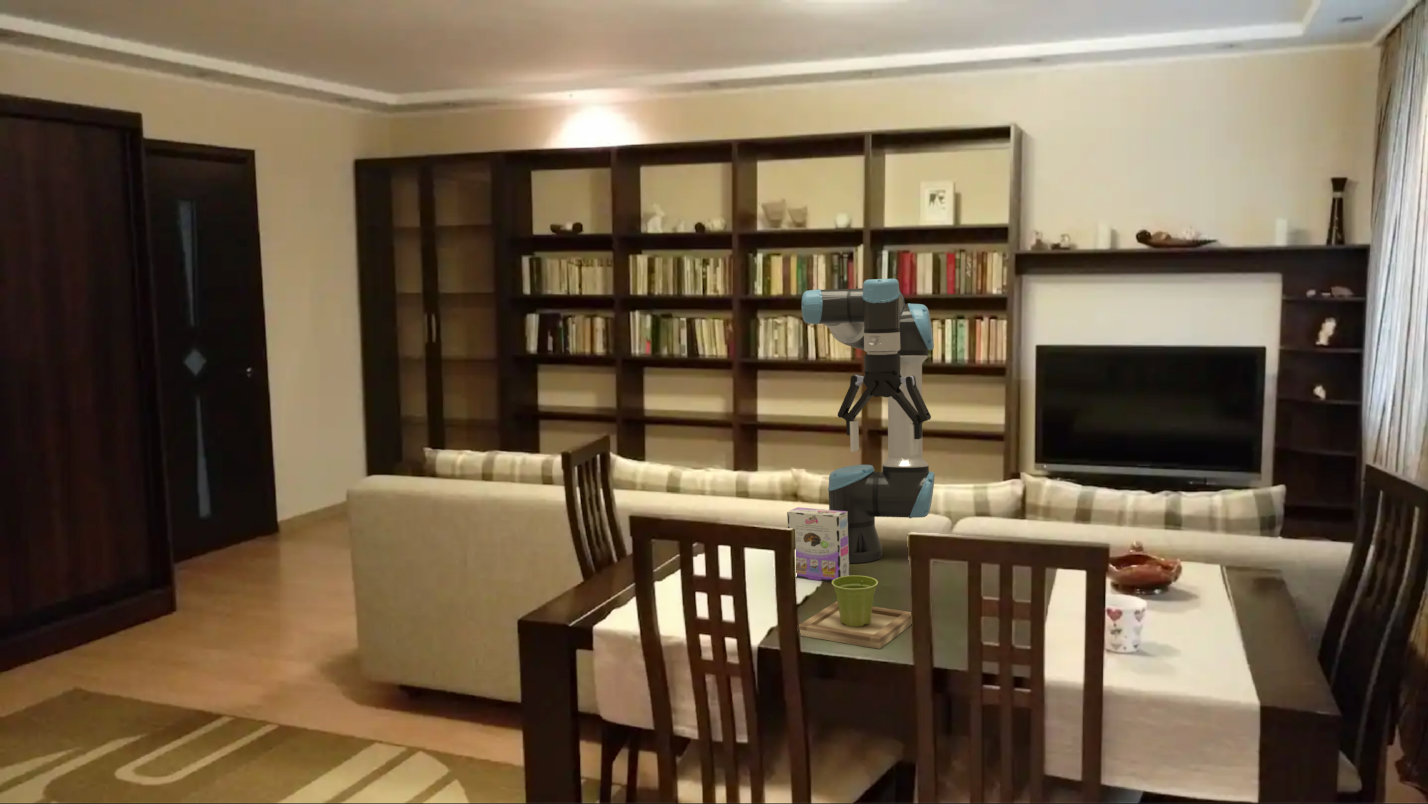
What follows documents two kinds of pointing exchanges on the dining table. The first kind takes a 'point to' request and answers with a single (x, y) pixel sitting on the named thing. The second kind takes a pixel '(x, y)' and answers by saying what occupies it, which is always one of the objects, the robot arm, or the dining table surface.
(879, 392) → the robot arm
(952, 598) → the dining table surface
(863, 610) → the plant pot
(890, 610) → the wooden tray
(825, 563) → the candy box
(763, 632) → the dining table surface
